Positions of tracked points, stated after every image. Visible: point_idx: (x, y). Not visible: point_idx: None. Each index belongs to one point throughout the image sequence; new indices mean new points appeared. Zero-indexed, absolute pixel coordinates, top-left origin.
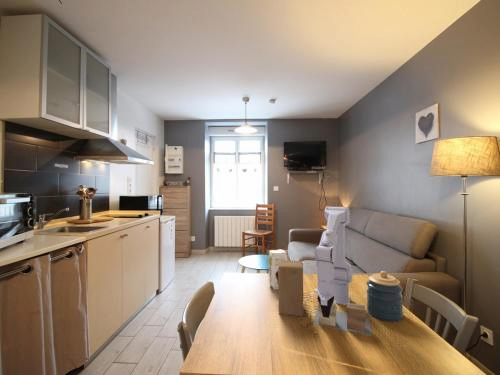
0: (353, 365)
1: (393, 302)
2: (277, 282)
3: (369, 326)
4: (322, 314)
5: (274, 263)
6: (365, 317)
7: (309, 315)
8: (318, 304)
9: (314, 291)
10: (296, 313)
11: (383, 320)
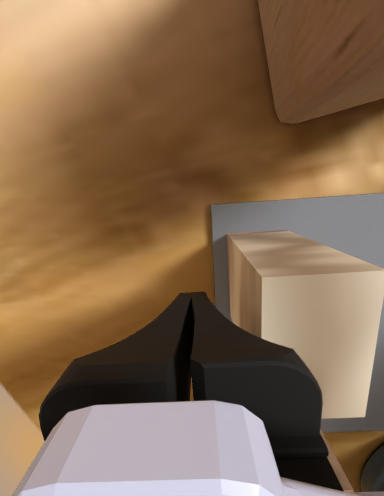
0: (23, 382)
1: None
2: None
3: None
4: (177, 297)
5: None
6: (371, 418)
7: (315, 162)
8: (256, 272)
9: (50, 439)
10: (273, 70)
11: (364, 472)
